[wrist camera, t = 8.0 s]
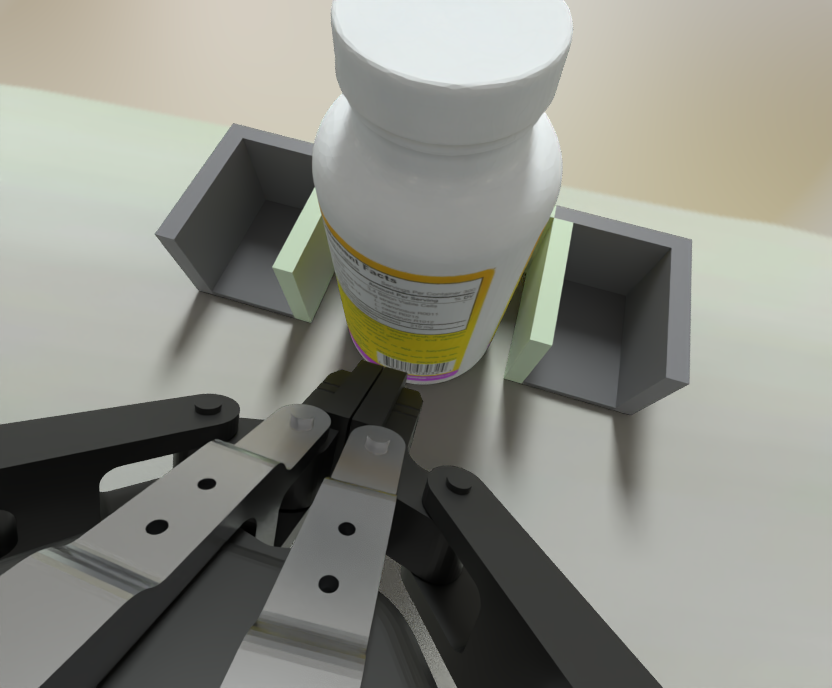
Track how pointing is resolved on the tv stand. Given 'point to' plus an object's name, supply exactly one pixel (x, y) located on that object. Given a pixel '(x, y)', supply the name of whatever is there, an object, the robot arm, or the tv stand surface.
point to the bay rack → (546, 272)
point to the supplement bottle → (438, 170)
